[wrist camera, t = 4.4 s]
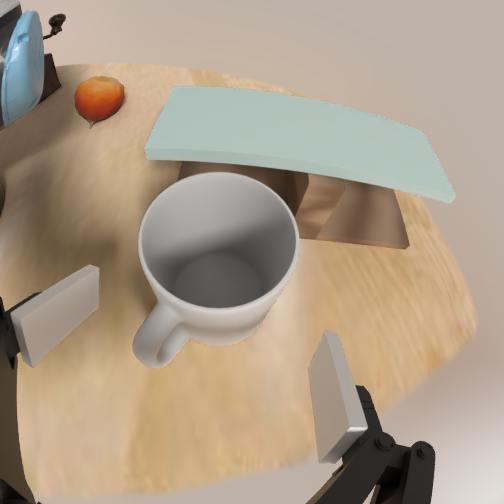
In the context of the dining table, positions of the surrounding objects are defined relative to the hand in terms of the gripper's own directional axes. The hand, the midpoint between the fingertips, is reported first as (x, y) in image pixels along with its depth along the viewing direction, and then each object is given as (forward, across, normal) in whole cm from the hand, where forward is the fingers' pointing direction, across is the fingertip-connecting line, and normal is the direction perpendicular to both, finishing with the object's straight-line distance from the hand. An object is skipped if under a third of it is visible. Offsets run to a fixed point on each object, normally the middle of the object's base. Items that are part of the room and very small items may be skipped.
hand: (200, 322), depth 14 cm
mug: (+8, -1, -4) cm, 9 cm away
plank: (+13, +5, +13) cm, 19 cm away
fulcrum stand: (+18, +5, +7) cm, 20 cm away
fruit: (+24, -26, +13) cm, 38 cm away
